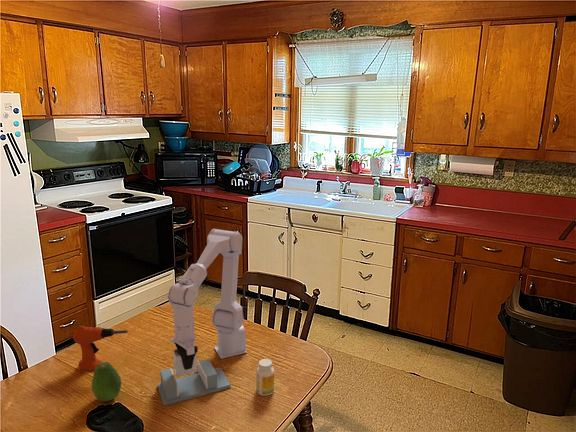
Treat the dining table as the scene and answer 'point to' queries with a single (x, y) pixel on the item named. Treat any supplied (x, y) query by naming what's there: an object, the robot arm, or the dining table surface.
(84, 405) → the dining table surface
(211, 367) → the block
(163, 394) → the base
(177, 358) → the steel block
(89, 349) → the toy drill
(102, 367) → the avocado
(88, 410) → the dining table surface
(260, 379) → the supplement bottle
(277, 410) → the dining table surface
